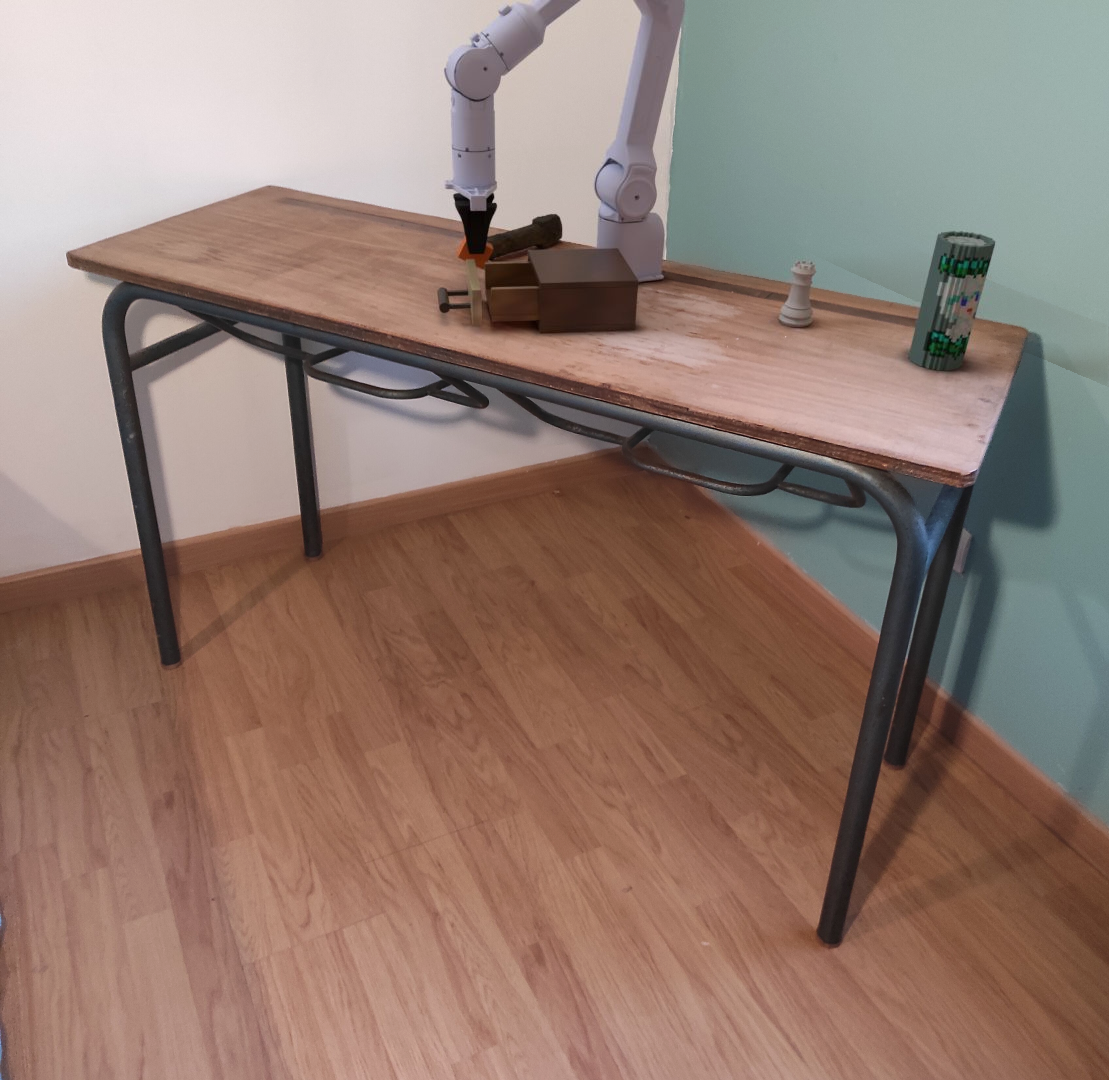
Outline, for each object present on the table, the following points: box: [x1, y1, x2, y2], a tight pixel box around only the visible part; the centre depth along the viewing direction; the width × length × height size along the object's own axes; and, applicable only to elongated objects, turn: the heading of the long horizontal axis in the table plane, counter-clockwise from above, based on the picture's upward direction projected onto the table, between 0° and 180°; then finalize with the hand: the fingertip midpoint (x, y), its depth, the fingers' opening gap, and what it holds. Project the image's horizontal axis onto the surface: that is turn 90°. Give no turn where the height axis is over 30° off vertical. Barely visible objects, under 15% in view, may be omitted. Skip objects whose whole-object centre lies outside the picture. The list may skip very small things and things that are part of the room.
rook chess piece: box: [778, 259, 817, 328], centre depth 127 cm, size 4×4×8 cm
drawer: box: [436, 259, 540, 327], centre depth 127 cm, size 16×12×5 cm
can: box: [907, 230, 996, 372], centre depth 115 cm, size 6×6×15 cm
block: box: [456, 235, 493, 271], centre depth 135 cm, size 6×2×3 cm, turn 99°
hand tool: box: [487, 213, 563, 262], centre depth 151 cm, size 19×4×5 cm, turn 134°
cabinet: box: [527, 248, 640, 334], centre depth 129 cm, size 13×14×7 cm
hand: (475, 250), depth 135 cm, fingers closed on block, 2 cm apart
